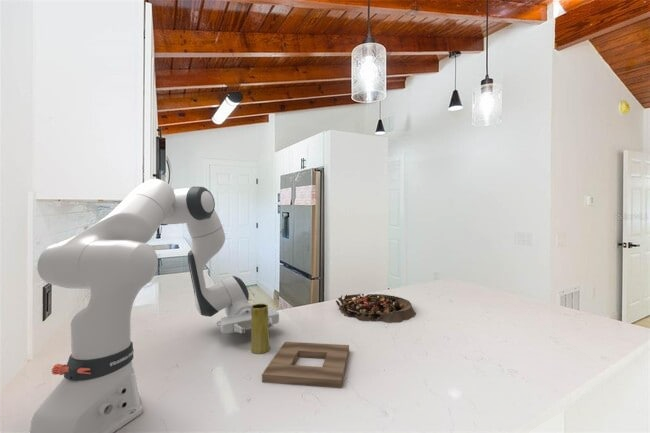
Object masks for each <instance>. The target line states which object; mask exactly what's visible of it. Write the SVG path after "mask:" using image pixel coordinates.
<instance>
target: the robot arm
mask: <svg viewBox="0 0 650 433" xmlns="http://www.w3.org/2000/svg"><path fill="white" fill-rule="evenodd" d="M215 206H216V202H215V198H214V196H213V194H212V193H211V191H210V190H209V189H207V188H206V187H204V186H192V187H183V188H173V187H172V186H171V185H170V184H169V183H168V182H167V181H165V180H162V179H160V178H151V179H147V180H146V181H144V182H142V183H141V184H139V185H138V186H137V187H135V188H134V189H133V190H132V191H130V192H129V194H128V195H126V197H125V198H124V199H123V200H122V201H120V203H119V204H118V205H117V206H116V207H115V208H114V209H112V210H111V211H110V212H109V214H108V215H106V216H104V217H102V219H100V220H99V221H97V222H95V223H94V224H92V225H90V226H89V227H87V228H86V229H84V230H83V231H81V232H79V233H77V234H75V235H74V236H73V235H72V237H69V238H67V239H65V240H61V241H60V242H56V243H53V244H51V245H49V246H48V247H46V248H45V249H44V250H43V251H42V252H41V253H40V255H39V257H38V260H37V267H36V268H37V272H38V276H39V278H40V279H41V280H42V281H44V282H45V283H47V284H49V285H53V286H57V287H60V288H65V289H78V290H79V289H82V290H84V289H87V290H90V298H89V302H88V304H87V305H86V306H85V307H84V308H82V309H81V310H79V311H78V312H77V313H76V314H75V315H74V316H73V318H72V319H71V321H70V342H71V343H70V346H71V348H70V349H71V353H70V355H69V358H68V359H67V360H68V361H67V363H66V364H62V363H61V364H60V363H57V364H54V365H53V366H52V368H51V374H52V375H55V376H56V375H59V376H63V378H62V380H61V381H60V382H59V383H58V384H57V385H56V387H55V388H54V389H53V390H52V391H51V392H50V394H49V395H48V396H47V397H46V398H45V400H43V402H42V404H40V406H39V407H38V408H37V409H36V410H35V411H34V413H33V416H32V418H31V423H30V430H29V431H30V432H29V433H115V432H116V431H118V430H120V429H121V428H122V427H124V426H125V425H126V424H128V423H129V422H131V421H133V420H134V419H135V418H137V417H138V416H140V415H141V414H143V412H144V408H143V405H142V404H141V396H140V393H139V391H138V383H137V378H136V374H135V370H134V366H133V359H134V350H135V349H134V343H133V341H132V340H131V336H132V334H131V327H132V326H131V324H132V323H131V316H132V311H133V310H132V309H133V305H134V302H135V300H136V298H137V296H138V294H139V293H140V291H141V290H142V289H143V288H144V287H145V286H146V285H147V284H149V283H150V282H151V281H152V279H153V278H154V277H155V275H156V274H157V271H158V267H159V260H158V259H159V258H158V255H157V253H156V250H155V249H154V248H153V246H151V244H149V243H148V242H149V241H150V240H151V239H152V237H153V236H154V235H155V233H157V231H158V229H159V228H160V226H168V225H178V224H182V225H183V224H185V225H186V227H187V231H188V233H189V236H190V239H191V247H190V248H191V249H190V250H189V251H188V253H187V262H188V269H189V274H190V277H191V278H190V279H191V283H192V284H191V285H192V288H193V293H194V303H195V308H196V310H197V312H198V313H199V314H200V315H201V316H204V317H211V318H212V317H213V316H215V315H216V314H218V313H219V312H220V311H222V310H224V311H225V314H226V316H224V317H222V318H220V319H219V321H218V320H217V321H216V326H218V327H220V333H221V334H223V335H227V334H232V333H239V334H245V333H246V331H247V330H252V325H251V306H252V305H255V303H249V302H248V301H249V297H250V294H249V293H250V292H249V290H248V287H247V286H246V284H245V283H244V282H243V279H241V278H240V277H239V276H235V275H231V276H229V277H227V278H225V279H222V280H221V281H219V282H217V283H215V284H213V285H211V286H208V287H207V286H206V281H205V275H204V269H205V268H206V265H207V264H208V262H210V261H211V259H212V258H214V257H215V255H217V254H218V253H219V252H220V251H221V250H222V248H223V246H224V244H225V241H226V234H225V231H224V228H223V224H222V221H221V220H220V217H219V215H218V214H217V212H216V210H215ZM279 322H280V313H279V311H277V310H276V309H274V308H272V307H269V306H268V329H270V328H273V327H274V326H273V325H278V323H279Z"/></svg>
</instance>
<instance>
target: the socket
mask: <svg viewBox="0 0 650 433" xmlns="http://www.w3.org/2000/svg"><path fill="white" fill-rule="evenodd" d="M349 355H350V344H337V343H334V344H333V343H318V342H317V343H316V342H301V341H299V342H296V341H284V342H283V344H282V345H281V347H279V350H278V351H277V352H276V353H275V355H274V356H273V358H272V359H271V360H270V362H269V363H268V365H267V367H266V368H265V369H264V370H263V372H262V373H261V382H262V383H272V384H273V383H274V384H284V385H285V384H286V385H298V386H309V387H310V386H312V387H322V388H323V387H325V388H335V389H336V388H338V389H342V387H343V382H344V379H345V378H344V377H345V373H346V368H347V364H348V359H349ZM299 358H305V359H307V358H309V359H321V360H322V359H323V360H324V361H323V364H322V366H311V365H299V364H298V365H297V364H296V363H297V360H298V359H299Z"/></svg>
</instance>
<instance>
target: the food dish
mask: <svg viewBox="0 0 650 433" xmlns="http://www.w3.org/2000/svg"><path fill="white" fill-rule="evenodd" d="M335 303H336V305H337V306H338V310H339V311H340V314H343V316H344V317H347V318H354V319H356V320H358V321H362V322H377V323H378V322H381V323H385V324H386V323H388V324H396V323H397V324H398V323H399V324H400V323H402V322H404V321H408V320H411V319H413V318H415V316H416V315H417V313H416V311H415V310H414V308H413V307H412V303H411V302H410V300H408V299H405V298H402V297H399V296H395V295H388V294H381V293H380V294H378V293H377V294H376V293H373V294H371V293H370V294H369V293H368V294H366V295H365V294H364V293H358V294H345V296H344V297H343V295H341V296H340V297H337V300H335ZM340 303H341V304H340Z"/></svg>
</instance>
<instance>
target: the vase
mask: <svg viewBox="0 0 650 433" xmlns="http://www.w3.org/2000/svg"><path fill="white" fill-rule="evenodd" d="M254 304H255V303H254ZM268 307H269V305H268V304H266V303H256V304H255V305H252V306H251V325H252V329H250V330H251V334H250V338H251V339H250V352H251V353H253V354H257V355H258V354H265V353H267V352H269V351H270V349H271V344H270V334H269V333H270V332H269V331H270V330H269V328H268Z"/></svg>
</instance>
